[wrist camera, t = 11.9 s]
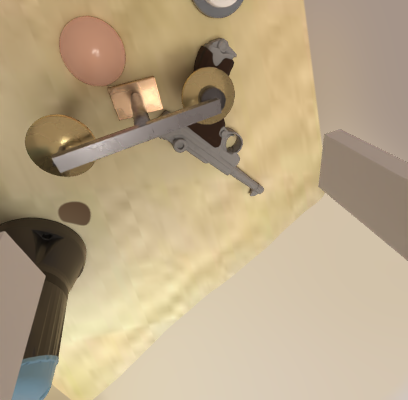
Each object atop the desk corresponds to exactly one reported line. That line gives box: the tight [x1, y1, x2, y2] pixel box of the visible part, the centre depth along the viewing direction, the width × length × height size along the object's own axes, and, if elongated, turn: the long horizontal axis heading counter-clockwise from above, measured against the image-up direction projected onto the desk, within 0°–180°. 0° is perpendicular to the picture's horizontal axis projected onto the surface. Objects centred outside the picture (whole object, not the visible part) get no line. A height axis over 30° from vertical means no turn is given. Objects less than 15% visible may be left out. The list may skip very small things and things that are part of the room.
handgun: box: [159, 38, 264, 196], centre depth 40 cm, size 3×24×15 cm
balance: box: [25, 67, 235, 177], centre depth 29 cm, size 22×6×16 cm, turn 100°
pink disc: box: [59, 16, 126, 86], centre depth 30 cm, size 7×7×1 cm
